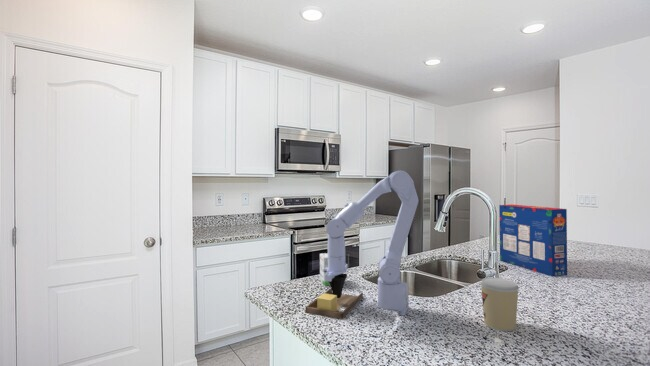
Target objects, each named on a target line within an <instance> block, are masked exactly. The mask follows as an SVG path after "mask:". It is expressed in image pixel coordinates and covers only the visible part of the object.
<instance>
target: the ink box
mask: <svg viewBox="0 0 650 366" xmlns="http://www.w3.org/2000/svg"><path fill="white" fill-rule="evenodd" d="M326 267H328V252H327V253H326V252H324V253H323V252H322V253H319V280H320V282H321V284H323V286H326V287H327V286H330V284H329V282H328V281H325V274H326V273H327V271H325V268H326Z"/></svg>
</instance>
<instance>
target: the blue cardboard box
mask: <svg viewBox="0 0 650 366" xmlns="http://www.w3.org/2000/svg"><path fill="white" fill-rule="evenodd" d="M498 208H499V261H500V262H502V263H505V264H506V263H507V264H509V265H513V266H517V267H520V268H522V269H525V270H529V271H532V272H536V273H539V274H542V275H545V276H549V277H562V276H568V228H567V227H568V225H567V224H568V222H567V221H568V219H567V218H568V215H567V212H568V211H567V208H558V207H557V208H556V207H548V206H547V207H546V206H536V205H535V206H534V205H522V204H499V207H498Z"/></svg>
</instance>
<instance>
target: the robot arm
mask: <svg viewBox="0 0 650 366" xmlns="http://www.w3.org/2000/svg"><path fill="white" fill-rule="evenodd" d="M392 190H393V191H394V192H395V193H396V194H397V196H398V198H399V199H400V201H401V205H400V208H399V211H398V214H397V217H396V220H395V224H394V227H393V230H392V233H391V236H390V239H389V243H388V245H387V248H386V251H385V252H384V256H383V257H382V258H381V259H380V260H379V262H378V270H379V272H378V273H379V276H378V278H377V306H378V307H379V308H381V309H384V310H389V311H391V310H392V311H393V310H394V311H398V313H397V315H398V316H403V317H404V316H405V315H406V314H407V312H408V310H409V308H410V305H409V303H410V301H409V298H410V297H409V284H408V282H404V281H402V279H401V270H400V268H401V267H400V266H401V263H402V256H403V252H404V250H405V246H406V242H407V240H408V239H407V238H408V236H409V233H410V229H411V228H412V227H411V226H412V224H413V220H414V218H415V214H416V212H417V209H418V208H417V207H418V205H419V197H418V194H417V190H416V187H415V182H414V180H413V179H412V177H411V175H409V173H408V172H406V171H405V170H396V171H393V172H391V173H390V174H389V175H387V176H386V177H384V178H382V179H381V180H380V181H378V182H377V183H376V184H375V185H374V186H373V187H372V188H371V189H370V190H369V191H367V193H366V194H364V195H363V196H362V197H361V198H360V199H359V200H358V201H356V202H355V201H351V202H350V203H346V204H345V205H344V208H343V209H341V211H340V212H339V213H335V214H334V215H333V218H332V219H330V220H329V222H328V223H327V224H326V226H325V227H326V228H325V229H326V233H327V243H326V244H327V253H328V267H326V268H325V271H327V273H326V274H325V281H328V282H329V284H330V285H329V287H330V288H331V289H332V292H333V295H337V298H340V297H341V295H342V294H343V290H344V285H345V282H346V280H347V278H348V273H347V271H348V269H349V267H348V263H346V242H345V231H346V229H349V228H350V227H352V226H353V225H354V224H355V223H357V222H358V221H359V219H361V218H362V217H363V216H364V210H365V209H366V208H368V206H369V205H371V204H372V203H373V202H374V201H376V199H378V198H379V197H380V196H381V195H383V194H387V193H391V192H392Z"/></svg>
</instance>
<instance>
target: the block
mask: <svg viewBox="0 0 650 366" xmlns="http://www.w3.org/2000/svg"><path fill="white" fill-rule="evenodd" d="M316 299H317V308H318V309H323V310H329V311H336V310H337V295H332V294H326V293H325V292H324V293H322V294H321V295H319V296H318V297H317V298H316Z"/></svg>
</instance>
